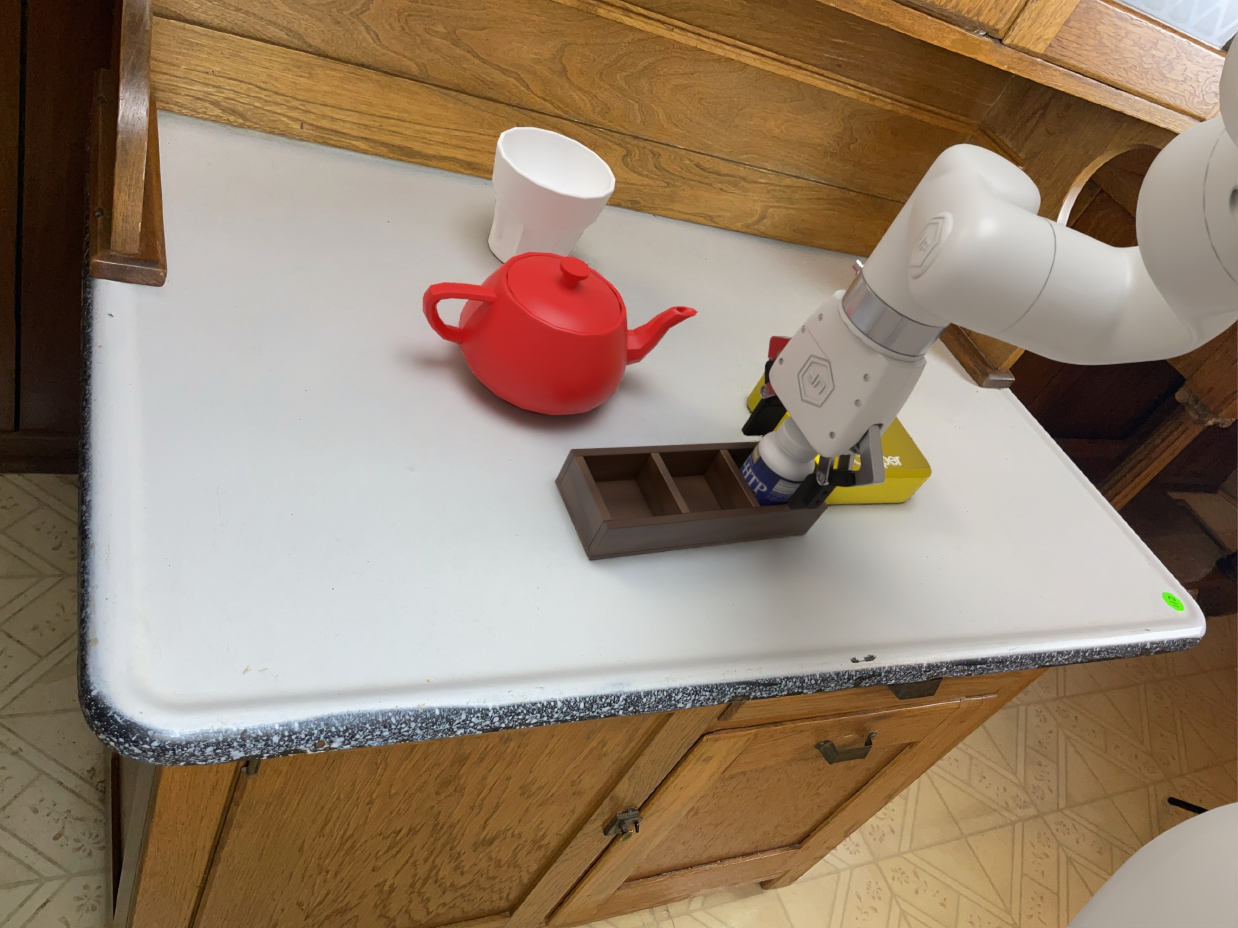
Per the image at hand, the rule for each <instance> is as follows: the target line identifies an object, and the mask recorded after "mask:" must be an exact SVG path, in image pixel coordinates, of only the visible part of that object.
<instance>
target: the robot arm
mask: <svg viewBox="0 0 1238 928" xmlns="http://www.w3.org/2000/svg"><path fill="white" fill-rule="evenodd" d="M1223 61H1224V62H1223V66H1222V69H1221V74H1220V79H1219V82H1218V83H1219V84H1218V92H1219V93H1218V94H1219V95H1218V98H1219V99H1218V100H1219V102H1218V103H1219V112H1220V115H1218V116H1214V117H1212V118H1209V119H1207V120H1204V121H1202V122H1199V123H1196V124H1194V125H1192V126H1191V127H1189V128H1187V129H1185V130H1184V131H1182V132H1180V133H1179V134H1178V135H1177V136H1175V137H1174V138H1173V139H1171V141H1170V142H1168V143H1167V144H1166V145H1165V146H1164V148H1163V149H1161V150H1160V151H1159V153H1158V154H1157V155H1156V157H1155V158H1154V159H1153V161H1152V163H1151V164H1150V166H1149V168H1148V170H1147V172H1146V174H1145V176H1144V177H1143V180H1142V182H1141V183H1142V184H1141V187H1140V190H1139V193H1138V198H1137V202H1136V203H1137V204H1136V212H1135V230H1136V231H1135V232H1136V240H1137V245H1136V246H1128V247H1127V246H1126V247H1116V246H1112V245H1110V244H1107V243H1105V242H1102V241H1100V240H1098V239H1096V238H1094V237H1092V236H1090V235H1087V234H1085V233H1082V232H1080V231H1079V230H1075V229H1073V228H1071V227H1068V226H1066V225H1063V224H1061V223H1059V222H1056V221H1054V220H1052V219H1049V218H1048V217H1045V216H1042V215H1041V216H1040V215H1038V213H1039V210H1040V207H1041V203H1042V202H1041V201H1042V200H1041V199H1042V198H1041V194H1040V191H1039V188H1038V186H1037V185H1036V183H1034V181H1033V180H1032V179H1031V177H1029V175H1028V174H1026V173H1025V171H1023V170H1022V169H1021V168H1020V167H1018V166H1017V165H1015V163H1013V162H1011V161H1010V160H1008V159H1007V158H1005V157H1003V156H1002V155H1000V154H999V153H996V152H994V151H992V150H989V149H987V148H984V147H982V146H979V145H975V144H970V143H961V144H960V143H959V144H955V145H952V146H949V147H947V148H946V149H945V150H944V151H942V152H941V153H940V154H939V155H938V157H937V158H936V159H935V160H934V162H933V163H932V164H931V166H930V167H929V169H928V170H927V172H925V174H924V176H923V178H922V179H921V180H920V182H919V183H918V185H917V186H916V187H915V189H914V191H913V192H912V193H911V195H910V196H909V198H908V199H907V201H906V202H905V203H904V206H903V207H902V208H901V210H900V211H899V212H898V213H897V215H896V217H895V219H894V220H893V221H892V223H891V225H890V226H889V227H888V229H887V230H886V232H885V233H884V234H883V235H882V238H881V239H880V241H879V242H878V243H877V245H876V247H875V248H874V249H873V250H872V252H871V254H870V255H869V256H868V258H866V257H860V258H858V259H857V260H855V261H854V262H853V264H852V266H851V271H852V272H853V273H854V279H853V280H852V282H851V283H850V284H849V286H848V287H847V289H843V288H842V289H837V290H836V291H834V292H833V293H832V294H831V295H830V296H829V297H828V298H826V299H825V301H824V302H822V303H821V304H820V305H819V306H818V307H817V308H816V309H815V310H814V311H813V313H812V314H811V315H809V317H808V318H807V319H806V320H805V321H804V323H803V324H802V325H801V326H800V327H799V328H798V330H797V331H796V332H795V333H794V334H793V336H786V335H772V336H771V337H770V338H769V343H768V351H767V359H768V360H766V362H765V363H764V373H765V385H762V386H761V388H760V396H761V397H762V398H761V400H760V401H759V403H758V404H757V406H756V407H755V409H754V410H753V412H751V413H750V415H749V417H748V419H747V420H746V422H744V424H743V426H742V427H741V432H742V434H743V435H744V436H746V437H761V436H762V437H764V436H765V435H766V434H768V433H770V432H773V431H774V429H775V428H776V426H777V425H778V424H779V422H780V421H781V419H782V418H783V417H784V415H785V414H786V412H787V411H788V413H789V414H790V416H791V417H792V419H793V420H794V422H795V423H796V425H797V426H798V427H799V429H800V430H801V432H802V433H803V435H804V436H805V438H806V439H807V441H808V442H809V444H810V445H811V446H812V448H813V449H814V450H815V451H816V452H817V453H818V454H819V455H820V457H819V463H818V468H817V473H811V474H809V475H807V476H806V478H805V479H804V480H803V482H802V483H801V484H800V485H799V487H798V488H797V489H796V491H795V492H794V493H793V494H792V496H791V497H790V498H789V499H788V501H787V502H788V503H787V505H788V507H789V508H790V510H794V509H804V508H807V509H815V508H817V507H819V506H821V505H822V503H823V502H824V501H825V500H826V499H827V497H828V496H829V495H830V494H831V493H832V491H833V490H834V489H835V488H836V486H839V487H856V486H867V485H876V484H882V483H883V482H884V481H885V471H884V462H883V453H882V444H881V436H882V435H883V434H884V432H885V431H886V430H887V429H888V427H889V426H890V425H891V423H892V422H893V420H894V419H895V417H896V416H897V417H898V415H899V413H900V412H901V410H902V408H904V406H905V404H906V403H907V401H908V399H909V398H910V396H911V394H912V393H913V391H914V389H915V388H916V385H917V384H918V382H919V380H920V378H921V376H922V374H923V372H924V369H925V368H926V365H927V363H928V362H927V359H926V358H925V356H926V354H927V353H928V351H930V349H931V348H932V347H933V346H934V344H935V343H936V342H937V341H938V339H939V338H940V337H941V336H942V334H943V333H944V332H945V331H946V330H947V328H948V327H949V326H950V325H951V324H953V325H956V326H959V327H961V328H964V329H967V330H969V331H972V332H975V333H978V334H979V335H985V336H988V337H990V338H993V339H996V340H998V341H1001V342H1004V343H1006V344H1009V345H1012V346H1015V347H1018V348H1021V349H1022V350H1026V351H1028V352H1030V353H1033V354H1035V355H1038V356H1041V357H1044V358H1046V359H1049V360H1052V361H1056V362H1059V363H1066V364H1072V365H1082V366H1100V365H1101V366H1102V365H1103V366H1104V365H1116V364H1117V365H1118V364H1130V363H1141V362H1151V361H1153V362H1154V361H1161V360H1162V361H1163V360H1168V359H1172V358H1176V357H1180V356H1183V355H1187V354H1189V353H1191V352H1193V351H1194V350H1196V349H1199V348H1200V347H1202V346H1204V345H1206V343H1209V342H1210V341H1211V340H1213V339H1215V338H1216V337H1217V336H1219V335H1221V334H1222V333H1224V332H1225V331H1226V330H1227V329H1229V328H1230V327H1232V325H1234V324H1235V323H1236V322H1237V321H1238V30H1237V31H1236V32H1235V35H1234V37H1233V39H1232V41H1231V43H1230V46H1229V48H1228V50H1227V53H1226V55H1225V58H1224V60H1223ZM855 454H857V455H860V461H861V467H860V469H859V470H857V471H854V470H852V469H853V464H854V459H855ZM838 456H839V460H838V465H837V469H833V467H834V462H835V457H838ZM1065 928H1238V801H1236V802H1232V803H1227V804H1224V805H1220V806H1218V807H1215V808H1212V809H1210V810H1206V811H1205V812H1202V813H1200V814H1197V815H1195V816H1192V817H1190V818H1188V819H1186V820H1184V821H1182V822H1181V823H1180V822H1179V823H1178V824H1176V825H1175V826H1173V827H1171V828H1169V829H1167V830H1166V831H1164V832H1162V833H1160V834H1159V835H1157V836H1156V837H1154V838H1153V839H1152V840H1150V841H1149V842H1147V843H1146V844H1145V845H1143V846H1142V847H1140V848H1139V849H1138V850H1136V852H1134V853H1133V854H1132V855H1131V856H1130V857H1129V858H1128V859H1127V860H1125V861H1124V863H1123V864H1121V866H1120V867H1119V868H1118V869H1117V870H1116V871H1115V872H1114V873H1113V874H1112V875H1111V876H1110V877H1109V878H1108V879H1107V880H1106V881H1105V883H1103V884H1102V886H1101V887H1100V888H1099V889H1098V890H1097V891H1096V892H1095V893H1094V894H1093V896H1092V897H1091V898H1090V899H1089V900H1088V901H1087V902H1086V903H1085V905H1084V906H1083V907H1082V908H1081V909H1080V910H1079V912H1077V914H1076V915H1075V916H1074V917H1073V918H1072V920H1071V921H1069V923H1068V924H1067V925H1066V926H1065Z"/></svg>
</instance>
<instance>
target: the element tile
mask: <svg viewBox="0 0 1238 928" xmlns="http://www.w3.org/2000/svg"><path fill="white" fill-rule="evenodd" d="M762 385H765V372H764V373H763V374H762V375H761V377H760V378H759V380H758V381H757V384H755V386H754V388H753V390H752V391H751V393H750V394H749V396H748V397H747V405H748V409H749V411H750V412H751V413H752V412H753V410H754V409H755V407H756V406H757V404H758V403H759V401H760V400H761V398H762V397H761V396H760V388H761V386H762ZM788 417H791V416H790V414H789V413H788V411H787V412H786V414H785V415H784V417H783V418H782V419H781V421H780V422H779V424H778V425H777V426H776V428H775V429H774V431H777V430H778V428H779V427H780V425H781V424H782V423H783V421H784V420H785V419H786V418H788ZM774 431H773V432H774ZM881 444H882V453H883V462H884V471H885V481H884V482H883V483H882V484H876V485H867V486H856V487H839V486H836V488H835V489H834V490H833V491H832V493H831V494H830V495H829V496H828V497H827V499H826V500H825V501H824V502H825V503H826V505H855V504H858V505H859V504H900V503H905V502H907V501H908V500H910V499H911V498H912V496H914V495H915V494H916V493H917V491H918V490H920V488H921V487H922V486H923V485H925V483H926V482H927V480H929V479H930V477H932V472H933V470H932V467H931V465H930V463H929V461H928V460H927V458H926V457H925V455H924V454H923V452H922V451H921V450H920V448H919V447H918V445H917V444H916V442H915V441H914V440H913V438H912V437H911V435H910V434H909V432H908V431H907V430H906V427H904V424H902V422H901V421H900V419H899V418H898V415H897V416H896V417H895V419H894V420H893V422H892V423H891V425H890V426H889V427H888V429H887V430H886V431H885V432H884V434H883V435H882V436H881ZM819 457H820V455H819V454H818V455H817V457H815V458H814V461H815V467H814V471H813V473H817V468H818V463H819ZM838 460H839V456H838V457H835V462H834V467H833V469H837V465H838ZM860 467H861V461H860V455H857V454H855V459H854V464H853V469H852V470H854V471H857V470H859V469H860Z"/></svg>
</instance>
